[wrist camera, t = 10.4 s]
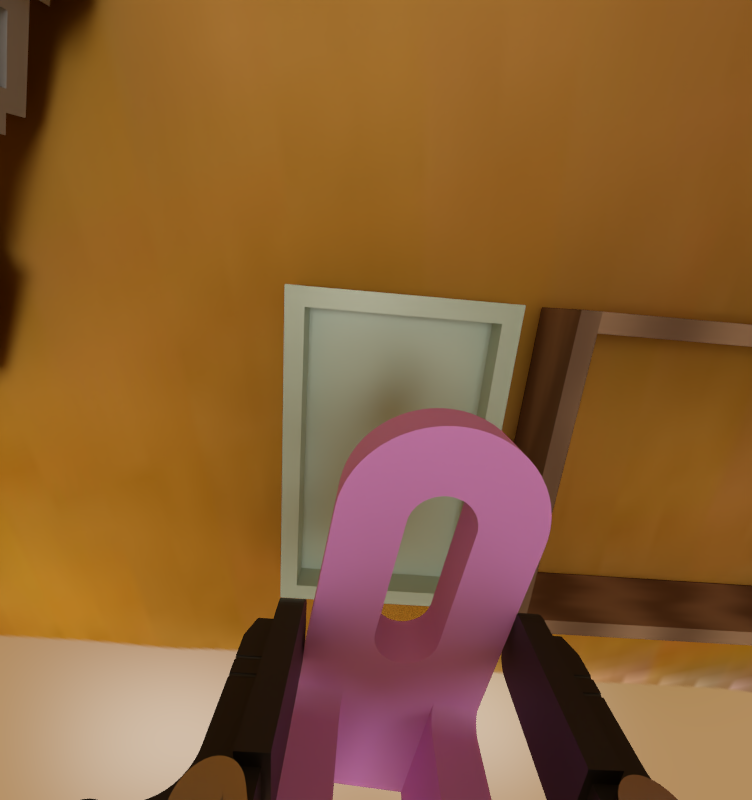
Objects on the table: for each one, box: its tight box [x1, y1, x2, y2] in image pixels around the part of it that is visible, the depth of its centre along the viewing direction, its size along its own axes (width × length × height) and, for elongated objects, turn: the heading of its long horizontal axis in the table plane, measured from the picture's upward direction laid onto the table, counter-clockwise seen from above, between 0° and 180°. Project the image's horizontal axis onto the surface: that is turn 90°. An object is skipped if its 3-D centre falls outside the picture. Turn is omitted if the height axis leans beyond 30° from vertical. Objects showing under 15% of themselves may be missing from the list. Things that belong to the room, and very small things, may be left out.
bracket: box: [276, 408, 552, 800], centre depth 8 cm, size 13×6×7 cm, turn 168°
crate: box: [514, 308, 752, 645], centre depth 21 cm, size 22×19×4 cm
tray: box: [281, 284, 526, 606], centre depth 21 cm, size 12×19×2 cm, turn 175°
